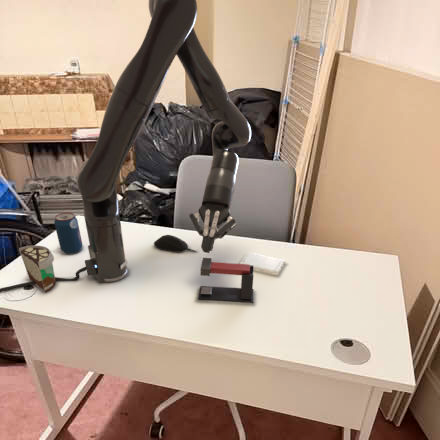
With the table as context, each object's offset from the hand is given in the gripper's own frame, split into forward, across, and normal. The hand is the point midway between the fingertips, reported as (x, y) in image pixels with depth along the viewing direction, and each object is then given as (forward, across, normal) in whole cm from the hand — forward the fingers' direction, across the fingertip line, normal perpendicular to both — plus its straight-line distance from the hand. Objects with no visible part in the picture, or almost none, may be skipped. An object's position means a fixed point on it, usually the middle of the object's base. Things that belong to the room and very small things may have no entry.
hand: (206, 251), depth 102 cm
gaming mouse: (-7, -18, +27) cm, 33 cm away
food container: (+14, -46, +6) cm, 48 cm away
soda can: (+1, -50, +19) cm, 53 cm away
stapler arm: (+3, +5, +5) cm, 8 cm away
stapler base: (+9, +5, +10) cm, 15 cm away
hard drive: (-5, +12, +24) cm, 28 cm away
